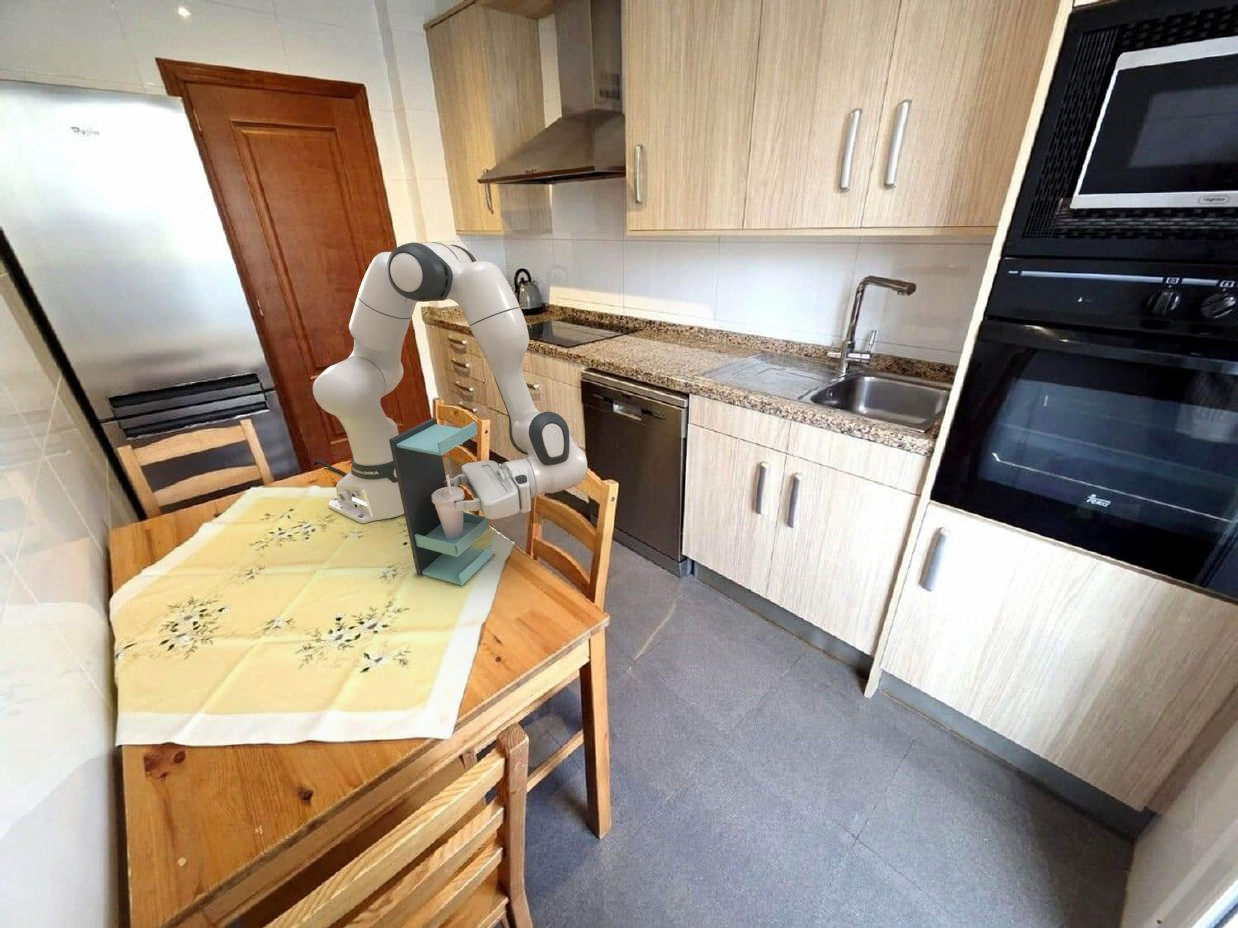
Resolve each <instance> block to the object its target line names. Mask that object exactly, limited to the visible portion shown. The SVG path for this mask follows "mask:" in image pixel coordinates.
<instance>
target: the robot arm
mask: <svg viewBox="0 0 1238 928" xmlns="http://www.w3.org/2000/svg"><path fill="white" fill-rule="evenodd" d="M447 300H450V301H453V302H455V303H456V304H457V305H458V306H459V308H460V309H461V310H462V313H463V315H464V317H465V319H466V321H467V325H468V326H469V329H470V331H471V334H472V335H473V338H474V340H475V342H476V344H477V346H478V347H479V349H480V352H481V353H482V355H483V357H484V359H485V361H486V363H487V365H488V367H489V369H490V371H491V373H492V375H493V379H494V382H495V384H496V386H497V389H498V391H499V394H500V397H501V400H502V403H503V405H504V407H505V410H506V412H507V417H508V435H509V440H510V443H511V444H512V447H513V448H514V449H515V450H516V451H517V452H519V453H520V454H523V455H526V457H523V458H518V459H513V460H508V461H505V462H502V463H498V462H496V461H495V460H479V461H473V462H467V463H465V464H463V465H461V473H459V474H457V475H456V476H454V477H452V478H449V479H450V486H453V487H459V486H463V487H464V486H467V488H468V491H470V494H471V495H472V497H473V499H472V500H471V499H469V500H464V499H460V500H456V501H454V507H455V510H456V511H457V512H459V511H463V512H465V511H470V512H478V511H481V512H482V514H483V517H485V518H487V519H488V520H499V519H504V518H507V517H511V516H514V515H517V514H519V513H521V514H526V513H530V512H531V510H532V499H534V498H537V497H539V496H541V495H545V494H555V493H559V492H562V491H566V490H569V489H572V488H574V487H577V486H578V485H580V484H581V483H583V482H584V480H585V479H586V477H587V474H588V466H589V463H588V459H587V456H586V453H585V452H584V451H583V449H581V448H580V447H579V446H578V444H577V443H576V442H575V440H574V439H573V436H572V435H571V433H570V430H569V426H568V423H567V422H566V420H565V418H564V417H563V416H561V415H560V414H558V413H556V412H553V411H540V410H538V409H537V407H536V405H535V404H534V401H533V398H532V396H531V393H530V390H529V388H528V384H527V381H526V379H525V376H524V369H523V364H524V358H525V356H526V352H527V349H528V347H529V343H530V334H529V330H528V326H527V322H526V318H525V316H524V313H523V311H522V308H521V306H520V304H519V301H518V299H517V297H516V295H515V292H514V291H513V289H512V287H511V285H510V284H509V282H508V280H507V278H506V277H505V275H504V274H503V272H502V271H501V268H499V266H497V264H495V263H494V262H492V261H487V260H477V258H476V257H475V256H474V255H473V253H471V252H470V251H469V250H467V248H464V247H462V246H460V245H458V244H457V245H456V244H448V243H445V242H437V241H436V242H435V241H431V242H430V241H429V242H408V243H403V244H401V245H398V246H397V247H396V248H394V249H393V250H392V251H383V252H380V253H379V252H378V253H377V254H376V255H375V256H374V257H373V259H372V261H371V262H370V264H369V266H368V267H367V270H366V272H365V274H364V277H363V278H362V281H361V284H360V286H359V289H358V292H357V296H356V300H355V302H354V306H353V310H352V313H351V317H350V320H349V323H348V330H349V332H350V335H351V336H352V338H353V348H352V349H353V350H352V352H351V353H350V355H349V356H348V357H347V358H346V359H344V360H342V361H339V362H337V363H334V364H333V365H330V366H329V367H327V368H325V370H324V371H323V372H321V374H320V375H318V376H317V377H316V379H315V380H314V381H313V385H312V394H313V397H314V400H315V401H316V403H317V404H318V405H319V407H320V408H321V409H322V410H323V411H325V412H326V413H328V414H330V415H333V416H334V417H336V419H337V420H338V421H339V422H340V424H341V426H342V427H343V429H344V431H345V433H346V437H347V440H348V443H349V447H350V451H351V454H352V457H351V458H350V459H348V460H346V461H345V462H346V466H349V465H351V468H350V471H349V472H348V473H346V472H345V471H343V470H341V469H339V468H337V467H334V466H332V465H330V464H328V463H327V462H325V461H323V460H316V461H314V462H313V466H317V465H318V464H319V465H322V466H324V467H325V468H327V469H329V470H330V471H333V472H334V473H335V472H336V473H338V474H339V475H342V476H343V477H342V478H341V479H340V480H338V482H337V483H336V485H335V493H336V495H335V496H334V497H333V498H332V499H330V501H329V502H328V504H327V505H328V508H329V509H330V510H333V512H334V511H335V512H336V513H338V514H340V515H343V516H345V517H347V518H349V519H351V520H352V521H355V522H357V523H359V524H367V523H372V522H374V521H381V520H389V519H393V518H396V517H400V516H403V515H405V514H404V510H403V505H402V500H401V495H400V490H399V486H398V481H397V476H396V471H395V466H394V462H393V457H392V452H391V447H390V442H389V439H391V438H393V437H395V436H397V435H399V434H400V433H399V428H398V424H397V423H396V421H395V420H393V419H392V418H390V417H387V414H386V413H385V412H384V409H383V407H382V403H381V401H382V400H381V399H382V398H384V397H385V396H387V395H389V394H390V393H392V392H393V391H394V390H395V389H396V388H397V387H398V385H399V384H400V382H401V381H402V379H403V377H404V365H403V362H401V361H402V349H403V345H404V342H405V338H406V335H407V333H408V329H409V327H410V324H411V322H412V321H411V320H412V318H413V315H414V312H415V309H416V305H417V304H418V302H421V303H422V302H423V303H426V302H442V301H447ZM444 487H448V485H447V479H446V480H445V481H444Z"/></svg>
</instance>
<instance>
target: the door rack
mask: <svg viewBox="0 0 1238 928" xmlns="http://www.w3.org/2000/svg"><path fill="white" fill-rule="evenodd" d="M476 435H478V426H477V421H472V422H471V423H469V424H467V425H465V426H464V427H462V428H461V427H455V426H450V425H443V424H439V423H438V420H437V418H436V417H431V418H429V419H427V420H425V421H422V422H421V423H419V424H417V425H415V426H413V427H411V428H408V429H407V430H405V431H403V432H401V433H399V435H397V436H395V437H393V438H391V439H389V442H390V447H391V452H392V457H393V462H394V466H395V471H396V476H397V481H398V486H399V490H400V495H401V500H402V505H403V510H404V514H403V515H404V519H405V524H406V529H407V534H408V539H409V544H410V548H411V552H412V557H413V562H414V567H415V572H416V575H417V576H423V575H424V576H427V577H430V578H434V579H436V580H440V581H444V582H447V583H452V584H454V585H458V586H461V587H462V586H464V585H465V584H466V583H467V582H468V581H469V580H470V579H471V578H472V577H473V576H474V575H475V574H476V572H478V571H479V570H480V569H481V568H482V567H483V566H484V565H485V564H486V563H487V562H488V561H489V560H490V559H491V558H492V557H493V547H492V544H489V545H488V546H487V547H486V548H485V549H484V550H482V549H480V548H475V547H471V546H472V545H473V544H474V543H475V542H476V541H477V540H478V539H479V538H481V536H483V535H484V534H485V533H486V532H487V531H488V530H489V529H490V523H489V519H487V518H485V516H484V515H483V516H482V515H479V514H475V513H469V512H466V511H463V535H462V536H460V537H459V538H455V539H449V538H446V537H445V534H444V531H443V528H442V525H441V522H440V519H439V516H438V513H437V510H436V507H435V504H434V503H433V502H432V497H431V496H432V494H433V493H434V492H435V491H436V490H438V489H440V488H444V481H445V480H447V479H446V469H445V464H444V463H445V462H444V459H443V458H444V456H443V455H445V454H447V453H448V452H450V451H452V450H453V449H455V448H456V447H458V446H460V445H462V444H464V443H465V442H467V441H468V440H470V439H472V438H473V437H475V436H476Z"/></svg>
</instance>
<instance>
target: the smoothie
mask: <svg viewBox="0 0 1238 928" xmlns="http://www.w3.org/2000/svg"><path fill="white" fill-rule="evenodd" d="M445 476H446V480H447V485H448V487H444V488H440V489H438V490H436V491H435V492H434V493H433V494H432V496H431V497H432V502H433V503H434V504H435V507H436V510H437V513H438V516H439V519H440V522H441V525H442V528H443V531H444V534H445V537H446V538H449V539H455V538H459V537H460V536H462V535H463V512H464V511H459V512H457V511H456V510H455V507H454V501H456V500H460V499H463V500H464V499H465V497H466V495H465V490H464V489H463V488H461V487H459V486H457V487H453V486H450V479H451V478H450V474H447V473H446V474H445Z"/></svg>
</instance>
